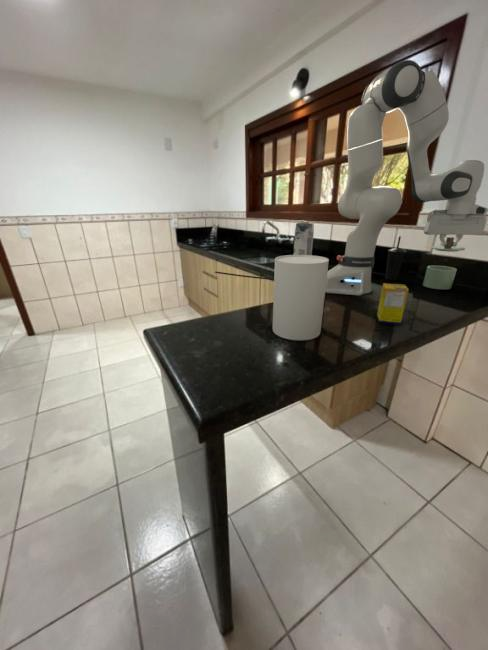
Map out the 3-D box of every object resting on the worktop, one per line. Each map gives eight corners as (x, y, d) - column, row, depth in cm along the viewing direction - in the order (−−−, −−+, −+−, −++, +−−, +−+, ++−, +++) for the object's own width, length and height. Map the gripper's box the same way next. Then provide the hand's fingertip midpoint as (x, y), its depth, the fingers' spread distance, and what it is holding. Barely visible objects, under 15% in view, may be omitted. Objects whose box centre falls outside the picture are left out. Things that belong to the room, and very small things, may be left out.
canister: (262, 328, 76) (264, 258, 68) (294, 317, 84) (299, 253, 76) (297, 345, 66) (304, 266, 58) (330, 331, 74) (339, 259, 66)
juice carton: (310, 270, 149) (315, 219, 138) (308, 274, 140) (312, 220, 129) (295, 269, 152) (298, 219, 141) (291, 273, 143) (294, 220, 132)
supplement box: (396, 318, 82) (405, 284, 78) (400, 325, 77) (409, 289, 73) (376, 316, 84) (382, 282, 80) (378, 323, 79) (385, 287, 75)
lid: (438, 252, 104) (442, 238, 102) (425, 248, 114) (429, 236, 112) (470, 252, 102) (474, 238, 100) (454, 248, 112) (458, 236, 110)
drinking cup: (402, 280, 126) (413, 237, 118) (386, 280, 126) (396, 237, 118) (394, 277, 133) (403, 235, 125) (379, 277, 133) (387, 235, 125)
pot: (428, 290, 111) (434, 270, 107) (418, 284, 120) (423, 265, 116) (455, 291, 109) (462, 270, 106) (442, 284, 118) (448, 265, 115)
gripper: (433, 209, 101) (423, 247, 106) (493, 209, 98) (480, 247, 103) (425, 210, 106) (417, 245, 112) (482, 209, 103) (470, 245, 109)
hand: (448, 246), depth 108 cm, fingers closed on lid, 2 cm apart
